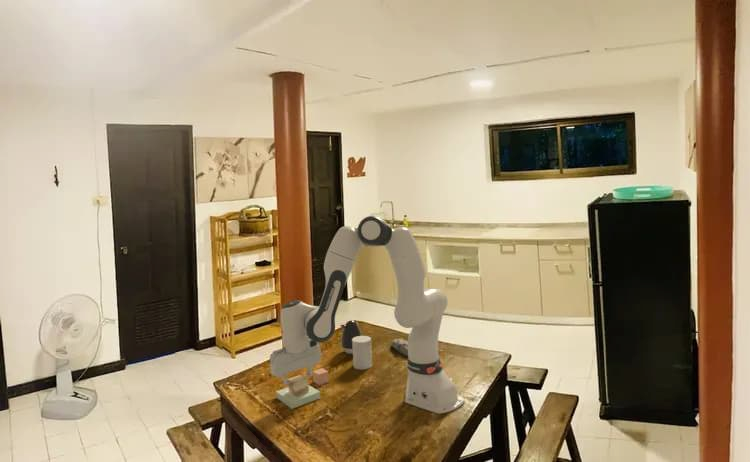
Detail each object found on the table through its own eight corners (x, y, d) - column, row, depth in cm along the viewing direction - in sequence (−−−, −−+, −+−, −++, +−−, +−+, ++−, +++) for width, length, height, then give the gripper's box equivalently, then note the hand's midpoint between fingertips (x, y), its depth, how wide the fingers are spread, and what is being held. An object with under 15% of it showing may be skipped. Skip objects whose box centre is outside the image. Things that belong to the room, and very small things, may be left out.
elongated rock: (428, 374, 201) (447, 370, 206) (429, 362, 201) (448, 358, 206) (385, 346, 231) (402, 342, 236) (385, 335, 231) (403, 332, 236)
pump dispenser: (337, 351, 228) (336, 319, 226) (357, 346, 233) (355, 316, 231) (346, 358, 219) (345, 325, 217) (367, 353, 224) (365, 321, 222)
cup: (371, 369, 206) (370, 342, 204) (352, 369, 206) (351, 342, 205) (372, 361, 214) (371, 335, 212) (354, 362, 214) (352, 336, 213)
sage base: (320, 398, 181) (319, 391, 181) (291, 408, 174) (291, 402, 174) (303, 387, 191) (303, 381, 190) (276, 397, 183) (275, 391, 183)
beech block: (308, 392, 181) (308, 379, 181) (295, 396, 178) (295, 383, 177) (301, 387, 185) (300, 374, 185) (288, 391, 182) (287, 379, 181)
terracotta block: (328, 382, 195) (328, 371, 195) (319, 385, 193) (318, 374, 192) (322, 378, 199) (322, 368, 198) (313, 381, 196) (312, 371, 195)
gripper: (273, 354, 170) (277, 392, 172) (322, 339, 183) (325, 374, 185) (265, 350, 175) (268, 386, 177) (313, 335, 188) (316, 369, 189)
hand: (297, 380), depth 181 cm, fingers open, 8 cm apart
